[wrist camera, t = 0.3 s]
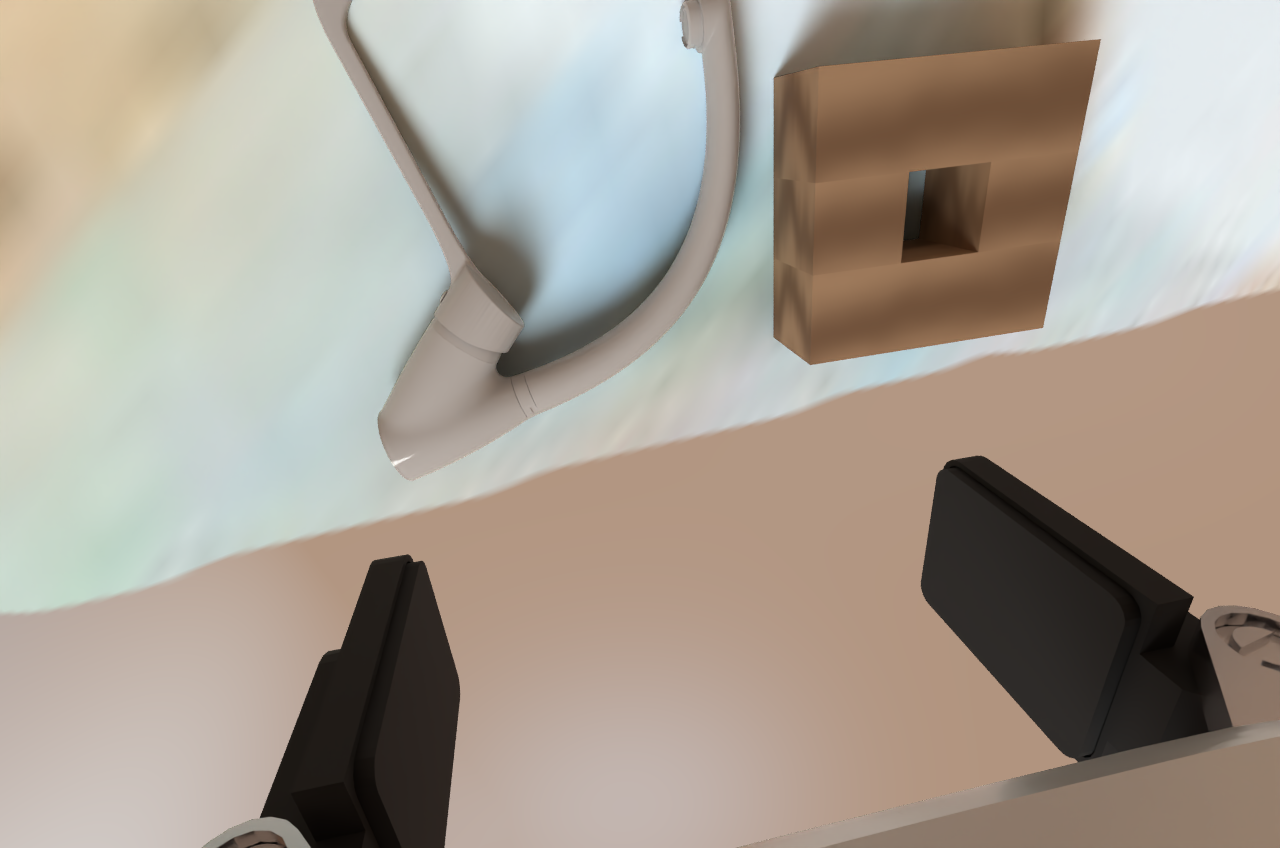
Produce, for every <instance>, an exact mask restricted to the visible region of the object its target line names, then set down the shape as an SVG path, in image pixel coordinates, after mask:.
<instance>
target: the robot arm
mask: <svg viewBox="0 0 1280 848" xmlns="http://www.w3.org/2000/svg"><path fill="white" fill-rule="evenodd" d="M921 589H922V592H923V595H924V597H925V599H926V601H927V602H928V604H929V605H930V606H931V607H932V608H933V609H934V610H935V611H936V613H937V614H938V615H939V616H940V617H941V618H942V619H943V620H944V622H945V623H946V624H947V625H948V626H949V627H950V628H951V629H952V630H953V632H955V634H956V635H957V636H958V637H959V638H960V639H961V641H962V642H963V643H964V644H965V645H966V646H967V647H968V648H969V650H970V651H971V652H972V653H973V654H974V655H975V656H976V657H977V658H978V659H979V661H980V662H981V663H982V664H983V665H984V666H985V667H986V668H987V670H988V671H990V673H991V674H992V675H993V676H994V677H995V678H996V679H997V681H998V682H999V683H1000V684H1001V685H1002V686H1003V688H1004V689H1005V690H1006V691H1007V692H1008V693H1009V694H1010V695H1011V696H1012V698H1013V699H1014V700H1015V701H1016V702H1017V703H1018V704H1019V705H1020V707H1021V708H1022V709H1023V710H1024V711H1025V712H1026V713H1027V714H1028V715H1029V717H1030V718H1031V719H1032V720H1033V721H1034V722H1035V723H1036V724H1037V726H1038V727H1039V728H1040V729H1041V730H1042V731H1043V732H1044V733H1045V735H1046V736H1047V737H1048V738H1049V739H1050V740H1051V741H1052V742H1053V743H1054V745H1055V746H1056V747H1057V748H1058V749H1059V750H1060V751H1061V752H1062V753H1063V754H1065V755H1066V756H1068V757H1071V758H1075V759H1076V760H1077V761H1078V763H1074V764H1070V765H1066V766H1062V767H1058V768H1053V769H1049V770H1045V771H1041V772H1037V773H1033V774H1029V775H1025V776H1021V777H1016V778H1013V779H1009V780H1004V781H1000V782H996V783H992V784H988V785H984V786H980V787H976V788H972V789H968V790H964V791H960V792H956V793H952V794H948V795H944V796H940V797H936V798H932V799H928V800H924V801H919V802H916V803H911V804H907V805H903V806H899V807H896V808H892V809H887V810H883V811H879V812H876V813H872V814H868V815H864V816H860V817H856V818H852V819H848V820H844V821H840V822H836V823H832V824H828V825H824V826H820V827H816V828H812V829H808V830H804V831H800V832H796V833H793V834H788V835H784V836H780V837H776V838H772V839H769V840H765V841H761V842H757V843H753V844H749V845H745V846H741V847H737V848H1280V616H1278V615H1276V614H1273V613H1269V612H1265V611H1262V610H1259V609H1255V608H1248V607H1242V606H1218V607H1214V608H1211V609H1208V610H1206V612H1205V613H1204V614H1203V615H1202V616H1201V618H1200V620H1199V619H1198V618H1196V617H1195V616H1193V615H1192V614H1190V613H1189V612H1188V610H1189V608H1190V605H1191V603H1192V600H1193V598H1194V597H1193V596H1192V595H1190V594H1189V593H1187V592H1186V591H1184V590H1183V589H1181V588H1180V587H1178V586H1177V585H1175V584H1174V583H1172V582H1171V581H1169V580H1168V579H1166V578H1165V577H1163V576H1162V575H1160V574H1159V573H1157V572H1156V571H1154V570H1153V569H1151V568H1150V567H1148V566H1147V565H1145V564H1144V563H1142V562H1141V561H1139V560H1138V559H1137V558H1135V557H1134V556H1132V555H1130V554H1129V553H1128V552H1126V551H1125V550H1123V549H1122V548H1120V547H1119V546H1117V545H1116V544H1114V543H1113V542H1111V541H1110V540H1108V539H1107V538H1105V537H1103V536H1102V535H1101V534H1099V533H1097V532H1096V531H1095V530H1093V529H1092V528H1090V527H1089V526H1087V525H1086V524H1084V523H1083V522H1081V521H1080V520H1078V519H1077V518H1075V517H1074V516H1072V515H1071V514H1069V513H1068V512H1066V511H1065V510H1063V509H1062V508H1060V507H1059V506H1057V505H1056V504H1054V503H1053V502H1051V501H1050V500H1048V499H1047V498H1045V497H1044V496H1042V495H1041V494H1039V493H1038V492H1036V491H1035V490H1033V489H1032V488H1030V487H1029V486H1028V485H1026V484H1024V483H1023V482H1021V481H1020V480H1019V479H1017V478H1016V477H1014V476H1013V475H1011V474H1010V473H1008V472H1006V471H1005V470H1004V469H1002V468H1001V467H999V466H998V465H996V464H994V463H993V462H992V461H990V460H989V459H987V458H985V457H983V456H973V457H967V458H962V459H956V460H951V461H949V462H947V463H946V465H945V466H944V469H943V470H941V471H940V472H939V473H938V475H937V479H936V486H935V492H934V499H933V506H932V512H931V519H930V525H929V533H928V539H927V546H926V552H925V560H924V565H923V572H922V579H921ZM459 702H460V685H459V678H458V674H457V670H456V667H455V663H454V660H453V657H452V654H451V650H450V646H449V643H448V640H447V636H446V633H445V630H444V626H443V623H442V619H441V616H440V613H439V609H438V606H437V602H436V599H435V596H434V592H433V589H432V585H431V582H430V579H429V575H428V572H427V568H426V566H425V563H424V562H423V561H418V562H413V559H412V558H411V556H410V555H402V556H396V557H390V558H385V559H379V560H374V561H373V562H372V563H371V565H370V568H369V570H368V573H367V576H366V579H365V582H364V584H363V587H362V590H361V593H360V596H359V599H358V602H357V604H356V607H355V610H354V613H353V616H352V619H351V622H350V625H349V627H348V630H347V633H346V636H345V639H344V642H343V644H342V647H341V649H338V650H333V651H328V652H327V653H326V654H325V655H323V657H322V659H321V661H320V662H319V664H318V667H317V670H316V672H315V675H314V678H313V680H312V683H311V686H310V688H309V691H308V693H307V696H306V698H305V701H304V704H303V706H302V709H301V712H300V714H299V717H298V719H297V722H296V725H295V727H294V730H293V733H292V735H291V738H290V740H289V743H288V745H287V748H286V751H285V753H284V756H283V758H282V761H281V764H280V766H279V769H278V772H277V774H276V777H275V779H274V782H273V785H272V787H271V790H270V793H269V795H268V798H267V800H266V803H265V806H264V808H263V811H262V813H261V816H260V818H259V819H252V820H249V821H247V822H245V823H242V824H239V825H237V826H234V827H232V828H230V829H228V830H226V831H225V832H223V833H222V834H220V835H219V836H217V837H216V838H214V839H213V840H211V841H210V842H208V843H207V844H206V845H204V846H203V847H202V848H444V846H445V836H446V826H447V817H448V807H449V798H450V787H451V778H452V769H453V760H454V749H455V740H456V731H457V721H458V711H459Z"/></svg>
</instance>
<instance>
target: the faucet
mask: <svg viewBox="0 0 1280 848" xmlns="http://www.w3.org/2000/svg"><path fill="white" fill-rule="evenodd" d="M351 2H352V0H313V3H314V6H315V9H316V12H317V15H318V18H319V20H320V23H321V25H322V27H323V29H324V31H325V33H326V36H327V37H328V39H329V41H330V43H331V45H332V47H333V49H334V50H335V52H336V54H337V56H338V58H339V59H340V61H341V63H342V65H343V67H344V69H345V70H346V72H347V74H348V76H349V78H350V80H351V81H352V83H353V85H354V87H355V89H356V90H357V92H358V94H359V96H360V98H361V100H362V101H363V103H364V105H365V107H366V109H367V111H368V112H369V114H370V116H371V118H372V120H373V121H374V123H375V125H376V127H377V129H378V131H379V132H380V134H381V136H382V138H383V140H384V142H385V143H386V145H387V147H388V149H389V151H390V152H391V154H392V156H393V158H394V160H395V162H396V163H397V165H398V167H399V169H400V171H401V173H402V174H403V176H404V178H405V180H406V182H407V183H408V185H409V187H410V189H411V191H412V193H413V194H414V196H415V198H416V200H417V202H418V204H419V205H420V207H421V209H422V211H423V213H424V215H425V216H426V218H427V220H428V222H429V224H430V226H431V228H432V230H433V232H434V234H435V236H436V238H437V240H438V242H439V244H440V246H441V249H442V251H443V254H444V256H445V259H446V261H447V264H448V268H449V271H450V276H451V286H450V288H449V290H446V291H445V292H444V293H443V294H442V296H441V298H440V302H441V303H440V304H439V306H438V308H437V309H436V311H435V313H434V315H435V317H434V319H433V320H432V321H431V323H430V324H429V326H428V328H427V329H426V331H425V332H424V334H423V336H422V337H421V339H420V341H419V343H418V344H417V346H416V348H415V349H414V351H413V353H412V355H411V356H410V358H409V360H408V362H407V363H406V365H405V367H404V369H403V371H402V372H401V374H400V376H399V378H398V380H397V382H396V384H395V385H394V387H393V389H392V391H391V393H390V395H389V397H388V399H387V401H386V403H385V405H384V407H383V409H382V410H381V411H380V412H379V415H378V428H379V434H380V437H381V441H382V444H383V446H384V449H385V451H386V453H387V455H388V457H389V459H390V461H391V462H392V464H393V465H394V467H395V468H396V470H397V471H398V472H399V473H400V474H401V475H402V476H403V477H404V478H406V479H407V480H410V481H414V480H416V479H418V478H421V477H423V476H425V475H428V474H430V473H432V472H435V471H437V470H439V469H441V468H443V467H445V466H448V465H450V464H452V463H454V462H456V461H458V460H460V459H462V458H464V457H466V456H468V455H469V454H471V453H473V452H475V451H477V450H479V449H481V448H482V447H484V446H486V445H488V444H489V443H491V442H493V441H495V440H496V439H498V438H500V437H501V436H503V435H504V434H506V433H508V432H509V431H511V430H512V429H514V428H516V427H517V426H519V425H520V424H522V423H523V422H525V421H526V420H528V419H529V418H531V417H533V416H535V415H537V414H540V413H542V412H544V411H547V410H549V409H552V408H554V407H556V406H558V405H561V404H563V403H565V402H567V401H569V400H571V399H573V398H575V397H577V396H579V395H581V394H583V393H585V392H587V391H589V390H591V389H593V388H594V387H596V386H598V385H599V384H601V383H603V382H605V381H606V380H608V379H609V378H611V377H612V376H614V375H616V374H617V373H619V372H620V371H621V370H623V369H624V368H626V367H627V366H629V365H630V364H631V363H633V362H634V361H635V360H637V359H638V358H639V357H640V356H641V355H643V354H644V353H645V352H646V351H648V350H649V349H650V348H651V347H652V346H653V345H654V344H655V343H656V342H657V341H658V340H659V339H660V338H662V337H663V336H664V335H665V334H666V332H667V331H668V330H669V329H670V328H671V327H672V326H673V325H674V324H675V323H676V321H677V320H678V319H679V318H680V317H681V315H682V314H683V313H684V311H685V310H686V309H687V307H688V306H689V305H690V303H691V302H692V300H693V299H694V297H695V296H696V294H697V293H698V291H699V289H700V288H701V286H702V284H703V283H704V281H705V279H706V277H707V275H708V273H709V271H710V269H711V267H712V265H713V263H714V260H715V258H716V255H717V253H718V251H719V248H720V245H721V242H722V240H723V237H724V233H725V230H726V227H727V223H728V219H729V216H730V211H731V207H732V202H733V197H734V191H735V185H736V178H737V170H738V159H739V144H740V95H739V77H738V65H737V54H736V45H735V36H734V27H733V18H732V9H731V1H730V0H689V1H685V2H684V3H683V5H682V6H681V9H680V22H682V30H683V37H682V41H683V44H684V46H685V47H686V48H687V49H691V48H693V49H694V48H696V50H697V52H698V53H702V59H703V68H704V78H705V90H706V116H707V127H706V151H705V161H704V170H703V177H702V183H701V188H700V193H699V197H698V202H697V205H696V209H695V213H694V216H693V219H692V222H691V225H690V228H689V230H688V233H687V235H686V238H685V240H684V242H683V244H682V247H681V249H680V251H679V253H678V255H677V256H676V258H675V260H674V262H673V263H672V265H671V267H670V268H669V270H668V271H667V273H666V274H665V276H664V277H663V279H662V280H661V281H660V283H659V284H658V285H657V287H656V288H655V289H654V290H653V292H652V293H651V294H650V295H649V296H648V297H647V298H646V299H645V301H644V302H643V303H642V304H641V305H640V306H639V307H638V308H637V309H635V310H634V311H633V312H632V313H631V314H630V315H629V316H628V317H626V318H625V319H624V320H623V321H622V322H620V323H619V324H618V325H616V326H615V327H614V328H612V329H611V330H610V331H608V332H607V333H605V334H604V335H602V336H601V337H599V338H597V339H596V340H594V341H593V342H591V343H589V344H587V345H586V346H584V347H582V348H580V349H578V350H576V351H574V352H572V353H570V354H568V355H566V356H564V357H562V358H559V359H557V360H555V361H552V362H550V363H547V364H545V365H542V366H540V367H537V368H534V369H531V370H528V371H526V372H523V373H520V374H517V375H514V376H510V377H504V376H501V375H500V374H499V373H498V372H497V369H496V365H497V363H498V361H499V359H500V357H501V354H502V353H506V352H508V351H509V350H510V348H511V347H512V345H513V343H514V342H515V340H516V339H517V337H518V335H519V334H520V332H521V331H522V329H523V328H524V322H523V320H522V318H521V317H520V315H519V314H518V313H517V312H516V310H515V309H514V308H513V306H512V305H511V304H510V303H509V302H508V301H507V299H506V298H505V297H504V296H503V295H502V294H501V293H500V291H499V290H498V289H497V288H496V287H495V286H494V285H493V284H492V283H491V282H490V281H489V280H488V279H487V278H486V277H485V276H484V275H483V274H482V273H481V272H480V271H479V270H478V269H477V267H476V266H475V265H474V263H473V262H472V260H471V259H470V257H469V256H468V254H467V253H466V251H465V250H464V248H463V246H462V245H461V243H460V242H459V240H458V238H457V237H456V235H455V233H454V231H453V229H452V228H451V226H450V224H449V222H448V221H447V219H446V217H445V215H444V213H443V211H442V209H441V208H440V206H439V204H438V202H437V200H436V198H435V196H434V195H433V193H432V191H431V189H430V187H429V185H428V183H427V182H426V180H425V178H424V176H423V174H422V172H421V170H420V168H419V167H418V165H417V163H416V161H415V159H414V157H413V155H412V154H411V152H410V150H409V148H408V146H407V144H406V142H405V141H404V139H403V137H402V135H401V133H400V131H399V129H398V128H397V126H396V124H395V122H394V120H393V118H392V116H391V114H390V113H389V111H388V109H387V107H386V105H385V103H384V101H383V100H382V98H381V96H380V94H379V92H378V90H377V88H376V87H375V85H374V83H373V81H372V79H371V77H370V75H369V73H368V72H367V70H366V68H365V66H364V64H363V62H362V60H361V59H360V57H359V55H358V53H357V51H356V49H355V47H354V46H353V44H352V42H351V40H350V38H349V35H348V31H347V24H346V20H347V14H348V11H349V7H350V5H351Z"/></svg>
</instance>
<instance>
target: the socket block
mask: <svg viewBox="0 0 1280 848" xmlns="http://www.w3.org/2000/svg"><path fill="white" fill-rule="evenodd" d="M1100 40H1101V39H1099V40H1088V41H1078V42H1067V43H1057V44H1047V45H1036V46H1026V47H1015V48H1005V49H995V50H984V51H974V52H964V53H953V54H943V55H932V56H922V57H912V58H901V59H891V60H880V61H870V62H860V63H849V64H839V65H829V66H819V67H815V68H811V69H807V70H803V71H799V72H795V73H791V74H787V75H783V76H780V77H776V78H774V338H775V339H777V340H778V341H779V342H781V343H782V344H783V345H785V346H786V347H787V348H789V349H790V350H791V351H793V352H794V353H795V354H796V355H798V356H799V357H800V358H802V359H803V360H804V361H806V362H807V363H808V364H810V365H813V364H819V363H826V362H832V361H838V360H844V359H851V358H857V357H863V356H869V355H876V354H882V353H888V352H894V351H901V350H907V349H913V348H919V347H926V346H932V345H938V344H944V343H951V342H957V341H963V340H969V339H976V338H982V337H988V336H994V335H1001V334H1007V333H1013V332H1019V331H1026V330H1032V329H1038V328H1043V325H1044V320H1045V315H1046V310H1047V305H1048V300H1049V295H1050V290H1051V285H1052V280H1053V275H1054V270H1055V265H1056V260H1057V255H1058V250H1059V245H1060V240H1061V235H1062V230H1063V225H1064V220H1065V215H1066V210H1067V205H1068V200H1069V195H1070V190H1071V185H1072V180H1073V175H1074V170H1075V165H1076V160H1077V155H1078V150H1079V145H1080V140H1081V135H1082V130H1083V125H1084V120H1085V115H1086V110H1087V105H1088V100H1089V95H1090V90H1091V85H1092V80H1093V75H1094V70H1095V65H1096V60H1097V55H1098V50H1099V45H1100ZM921 170H926V175H925V185H924V195H923V205H922V215H921V224H920V234H919V238H918V239H911V240H904V241H903V235H904V224H905V213H906V202H907V191H908V180H909V172H913V171H921Z"/></svg>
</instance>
